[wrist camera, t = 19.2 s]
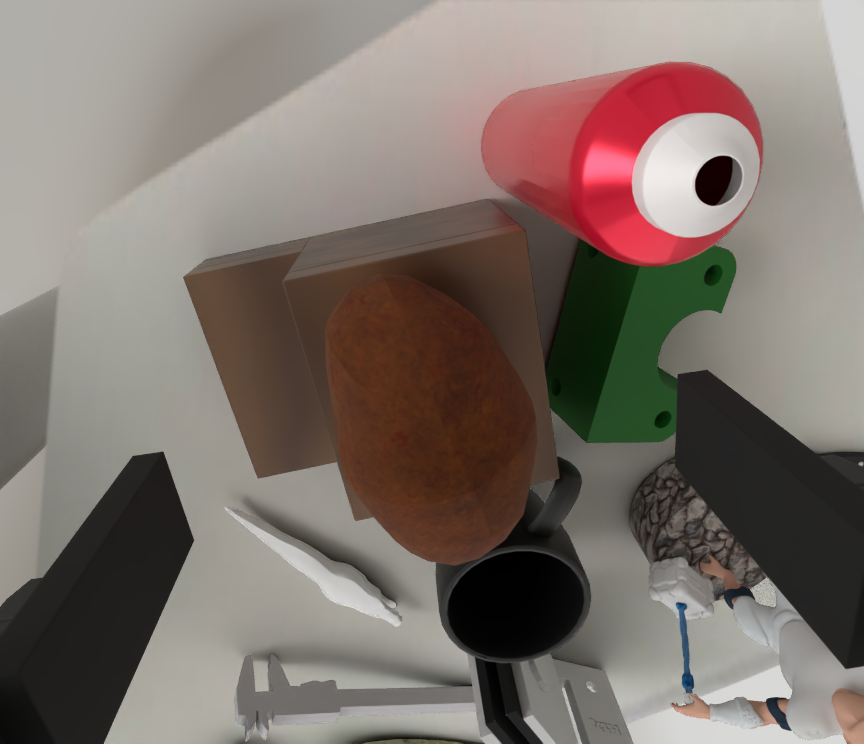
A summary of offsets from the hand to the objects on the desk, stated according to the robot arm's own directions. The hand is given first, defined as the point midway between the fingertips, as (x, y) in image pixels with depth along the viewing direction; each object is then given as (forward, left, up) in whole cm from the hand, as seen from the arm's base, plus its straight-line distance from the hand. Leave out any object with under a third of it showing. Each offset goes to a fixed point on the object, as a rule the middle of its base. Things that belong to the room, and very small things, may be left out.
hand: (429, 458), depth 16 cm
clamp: (+12, -6, -21) cm, 25 cm away
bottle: (+8, +5, -21) cm, 23 cm away
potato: (-1, -3, -11) cm, 11 cm away
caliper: (-9, -30, -21) cm, 38 cm away
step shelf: (-3, -3, -21) cm, 21 cm away
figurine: (+16, -20, -21) cm, 33 cm away
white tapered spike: (-10, -18, -21) cm, 30 cm away
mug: (+3, -15, -21) cm, 26 cm away
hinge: (+3, -30, -21) cm, 37 cm away
